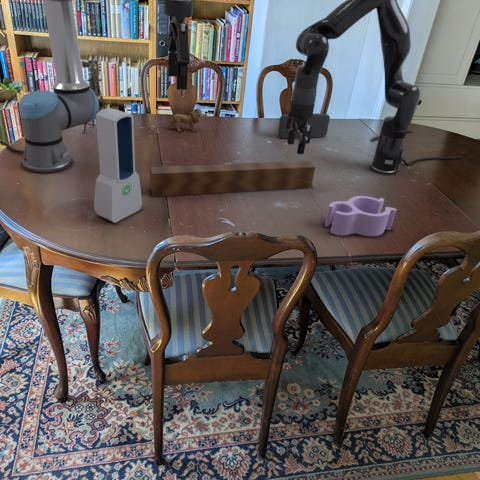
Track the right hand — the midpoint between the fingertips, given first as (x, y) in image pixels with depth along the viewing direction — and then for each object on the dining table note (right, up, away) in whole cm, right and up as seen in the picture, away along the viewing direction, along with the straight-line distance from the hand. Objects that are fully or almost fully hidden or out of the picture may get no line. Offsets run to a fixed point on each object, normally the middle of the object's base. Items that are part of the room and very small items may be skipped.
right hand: (295, 148), depth 155 cm
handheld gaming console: (+9, +15, +50) cm, 53 cm away
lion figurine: (-42, +17, +44) cm, 63 cm away
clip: (+17, -26, -13) cm, 34 cm away
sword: (+53, +18, +62) cm, 83 cm away
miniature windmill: (-76, +14, +33) cm, 84 cm away
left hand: (-36, +14, -23) cm, 45 cm away
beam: (-20, -13, +2) cm, 24 cm away
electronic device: (-54, -22, -19) cm, 61 cm away
